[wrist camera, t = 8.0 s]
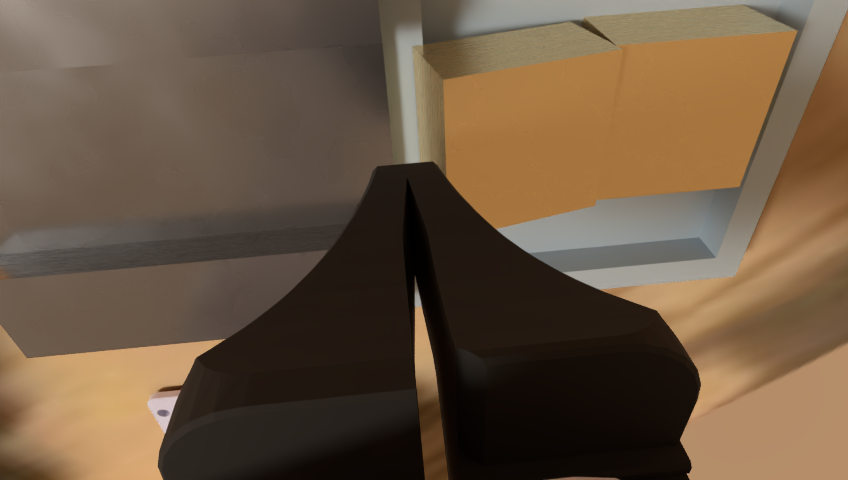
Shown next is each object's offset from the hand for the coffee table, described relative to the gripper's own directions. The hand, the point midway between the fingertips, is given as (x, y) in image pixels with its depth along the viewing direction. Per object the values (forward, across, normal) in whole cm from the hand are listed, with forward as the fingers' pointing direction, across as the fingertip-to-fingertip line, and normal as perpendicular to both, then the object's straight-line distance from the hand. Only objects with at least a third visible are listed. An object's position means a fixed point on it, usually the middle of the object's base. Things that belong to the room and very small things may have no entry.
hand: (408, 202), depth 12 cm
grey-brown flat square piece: (+5, +6, 0) cm, 8 cm away
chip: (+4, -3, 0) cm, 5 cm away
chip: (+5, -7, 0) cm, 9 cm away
